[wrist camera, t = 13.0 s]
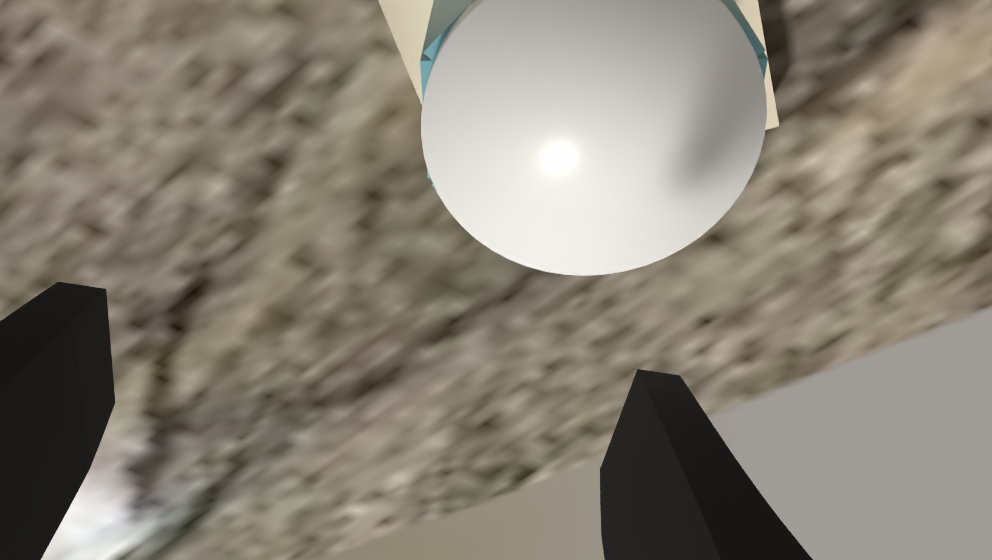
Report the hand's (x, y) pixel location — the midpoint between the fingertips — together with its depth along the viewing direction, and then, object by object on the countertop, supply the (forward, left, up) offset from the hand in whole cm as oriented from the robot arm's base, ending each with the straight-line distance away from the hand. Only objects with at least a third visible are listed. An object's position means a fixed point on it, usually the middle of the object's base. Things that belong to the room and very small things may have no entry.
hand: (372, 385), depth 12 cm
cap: (+4, +1, -8) cm, 9 cm away
